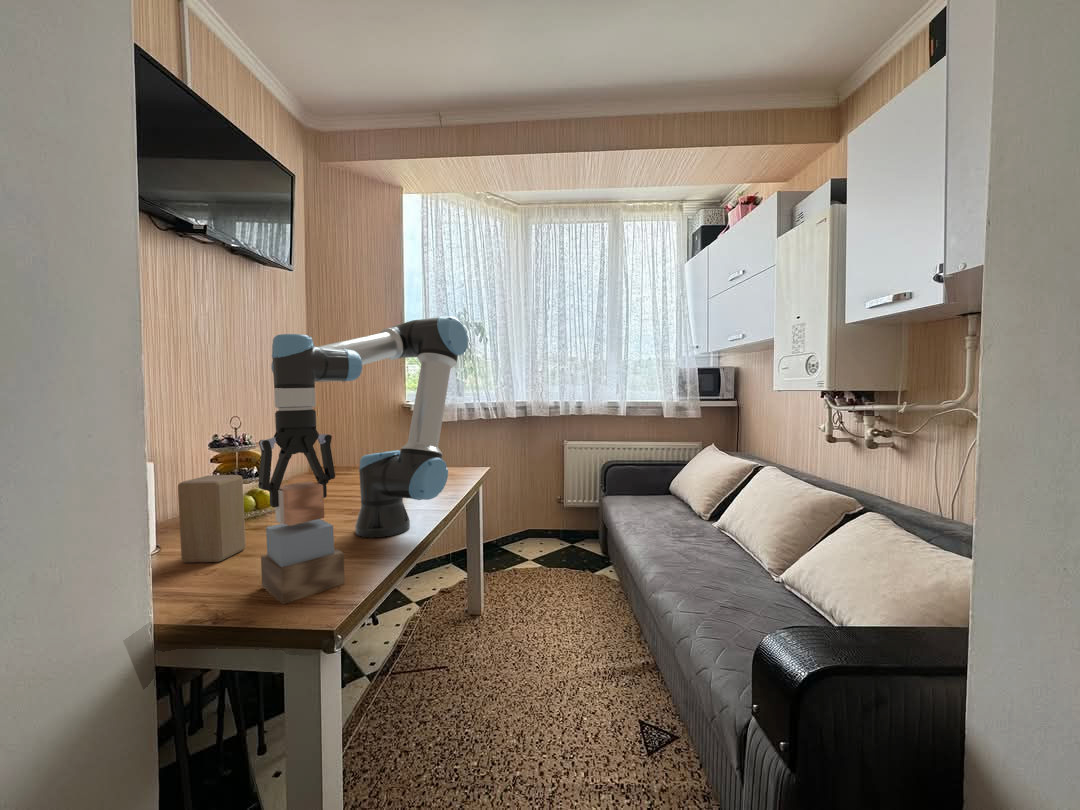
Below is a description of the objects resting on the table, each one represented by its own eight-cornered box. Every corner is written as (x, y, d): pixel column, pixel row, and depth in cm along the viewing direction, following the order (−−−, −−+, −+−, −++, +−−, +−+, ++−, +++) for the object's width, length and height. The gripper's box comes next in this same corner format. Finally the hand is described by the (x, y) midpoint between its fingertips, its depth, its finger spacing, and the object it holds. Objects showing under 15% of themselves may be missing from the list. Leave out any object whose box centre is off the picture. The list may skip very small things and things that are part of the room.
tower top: (317, 543, 103) (316, 516, 102) (334, 553, 95) (333, 525, 95) (267, 555, 95) (266, 527, 95) (281, 567, 88) (280, 537, 88)
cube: (310, 512, 100) (309, 481, 100) (324, 517, 96) (323, 485, 95) (276, 519, 95) (274, 486, 95) (288, 525, 90) (287, 491, 90)
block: (210, 549, 120) (207, 474, 119) (247, 549, 120) (244, 474, 119) (179, 564, 110) (175, 482, 109) (219, 563, 110) (215, 481, 109)
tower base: (320, 571, 104) (319, 541, 104) (344, 584, 96) (343, 552, 96) (262, 588, 95) (260, 555, 95) (283, 605, 87) (281, 569, 87)
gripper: (335, 406, 105) (339, 505, 105) (234, 411, 90) (239, 525, 90) (350, 407, 100) (354, 510, 100) (246, 411, 85) (252, 533, 85)
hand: (300, 517), depth 95 cm, fingers closed on cube, 7 cm apart
